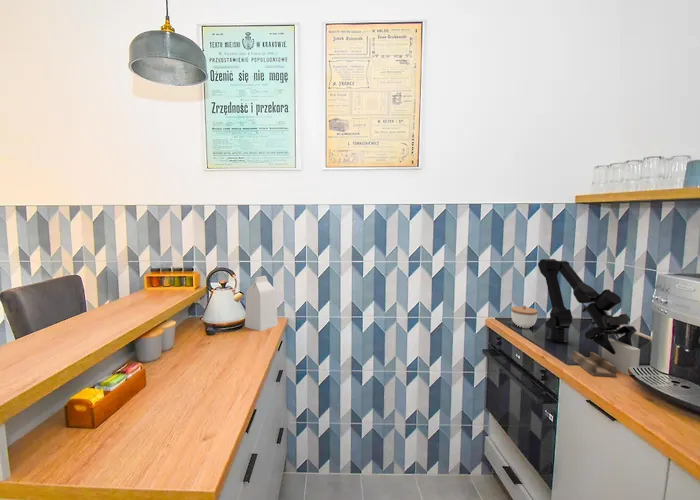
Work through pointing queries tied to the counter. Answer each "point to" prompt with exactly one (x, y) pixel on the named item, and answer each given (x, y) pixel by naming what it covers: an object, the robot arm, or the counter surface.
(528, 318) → the lidded bowl
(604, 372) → the flanged channel block
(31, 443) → the counter surface
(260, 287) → the milk
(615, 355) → the clay slab
